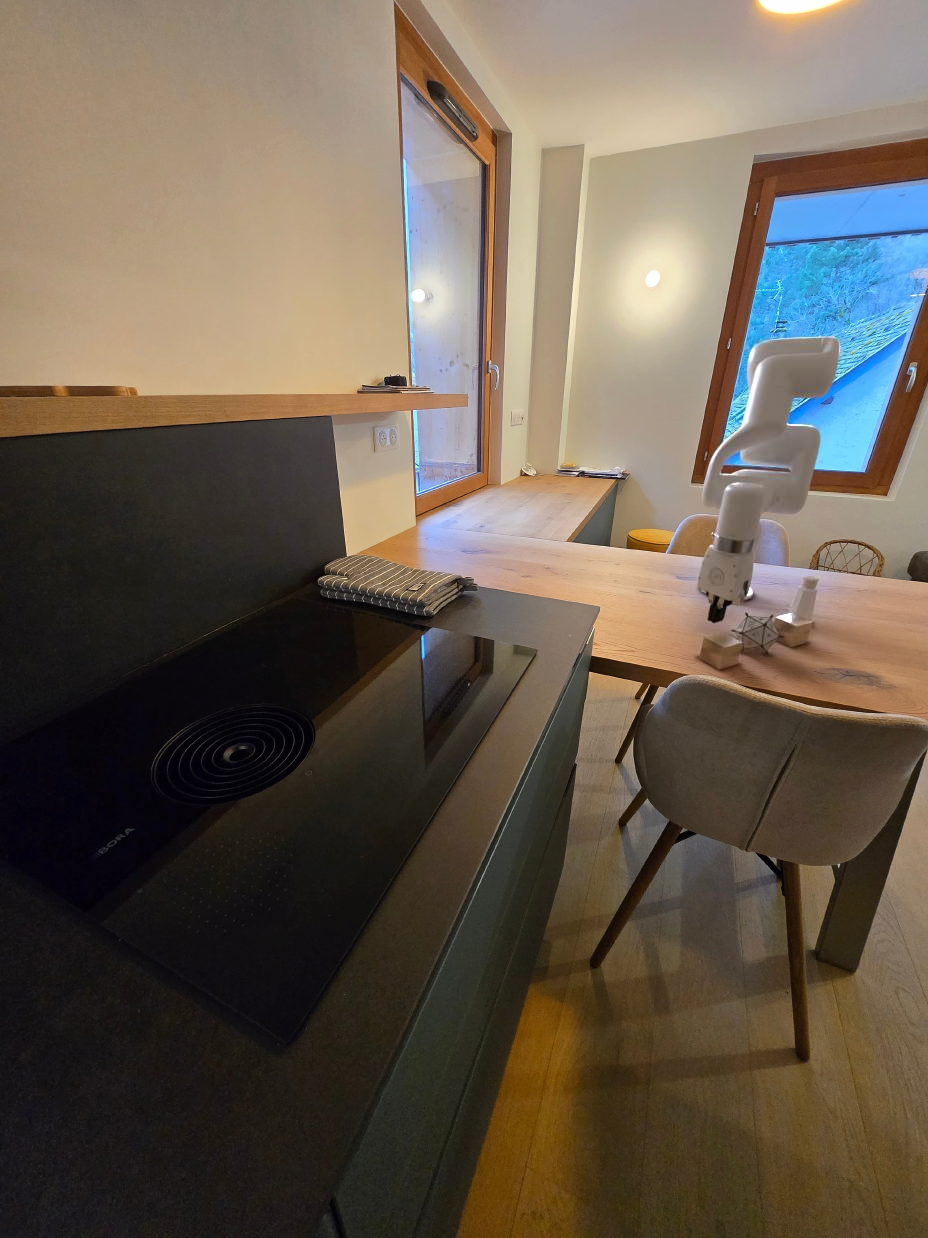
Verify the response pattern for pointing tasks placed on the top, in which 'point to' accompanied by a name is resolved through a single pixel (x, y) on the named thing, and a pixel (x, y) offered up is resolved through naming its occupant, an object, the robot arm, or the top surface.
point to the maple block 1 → (720, 650)
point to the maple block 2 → (792, 629)
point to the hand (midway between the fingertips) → (715, 620)
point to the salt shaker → (805, 598)
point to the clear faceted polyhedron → (757, 633)
